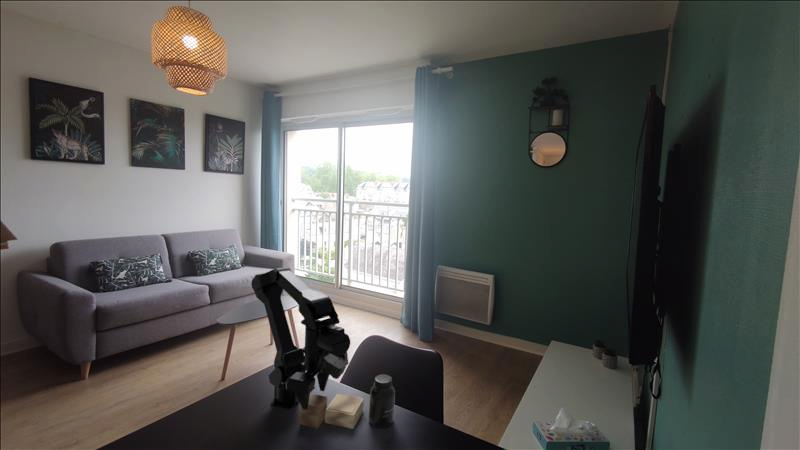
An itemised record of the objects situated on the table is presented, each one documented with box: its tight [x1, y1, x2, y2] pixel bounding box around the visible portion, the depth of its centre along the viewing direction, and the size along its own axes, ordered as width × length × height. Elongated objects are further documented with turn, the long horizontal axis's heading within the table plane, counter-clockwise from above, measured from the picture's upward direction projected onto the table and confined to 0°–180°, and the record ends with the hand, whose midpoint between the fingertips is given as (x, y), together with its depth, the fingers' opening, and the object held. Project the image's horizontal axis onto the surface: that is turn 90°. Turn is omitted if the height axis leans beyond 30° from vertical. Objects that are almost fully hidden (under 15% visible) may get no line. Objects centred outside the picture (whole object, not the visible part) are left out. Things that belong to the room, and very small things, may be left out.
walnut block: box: [300, 392, 328, 429], centre depth 97 cm, size 5×5×6 cm
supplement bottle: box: [368, 374, 396, 428], centre depth 98 cm, size 7×7×12 cm
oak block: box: [324, 393, 364, 429], centre depth 99 cm, size 8×8×4 cm
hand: (314, 399), depth 96 cm, fingers open, 9 cm apart
